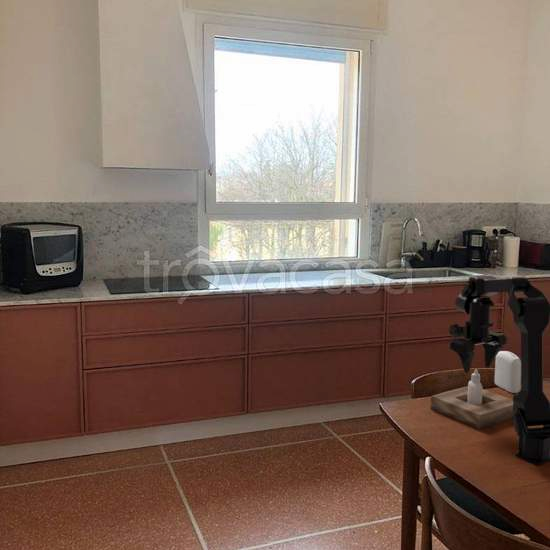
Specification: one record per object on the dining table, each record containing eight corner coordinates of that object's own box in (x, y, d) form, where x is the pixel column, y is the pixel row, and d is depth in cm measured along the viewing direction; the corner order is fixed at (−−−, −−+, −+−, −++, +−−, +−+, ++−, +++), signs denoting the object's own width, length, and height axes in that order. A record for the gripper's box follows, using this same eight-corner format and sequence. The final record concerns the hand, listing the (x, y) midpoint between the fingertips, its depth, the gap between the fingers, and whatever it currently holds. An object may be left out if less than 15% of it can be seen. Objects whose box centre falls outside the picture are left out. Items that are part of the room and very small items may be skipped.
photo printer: (492, 383, 203) (494, 348, 202) (503, 382, 204) (505, 347, 202) (510, 394, 194) (512, 357, 192) (522, 393, 194) (524, 356, 193)
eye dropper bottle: (482, 406, 180) (484, 368, 178) (480, 413, 175) (483, 373, 173) (467, 404, 182) (469, 366, 180) (465, 410, 177) (467, 371, 175)
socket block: (519, 415, 176) (520, 402, 175) (479, 428, 166) (480, 415, 166) (470, 397, 191) (470, 385, 190) (430, 408, 181) (431, 395, 181)
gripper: (478, 309, 186) (475, 358, 188) (436, 317, 176) (434, 368, 178) (509, 316, 176) (506, 367, 179) (466, 324, 167) (464, 378, 169)
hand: (476, 370), depth 177 cm, fingers open, 9 cm apart
